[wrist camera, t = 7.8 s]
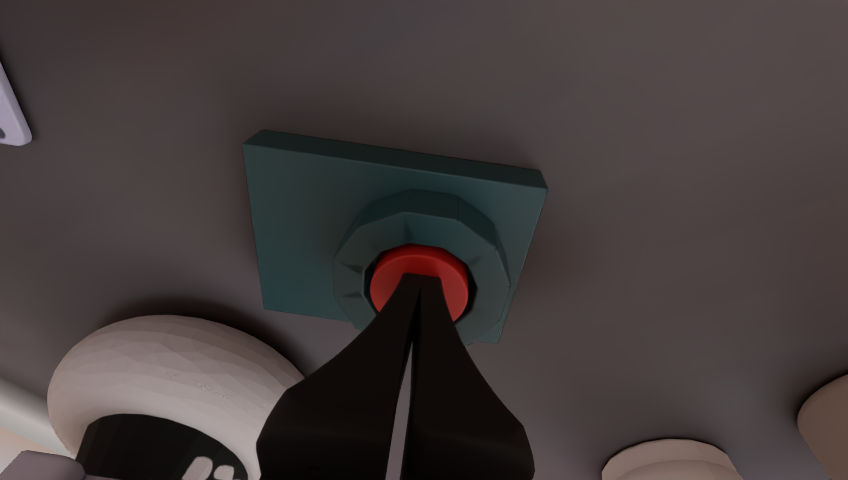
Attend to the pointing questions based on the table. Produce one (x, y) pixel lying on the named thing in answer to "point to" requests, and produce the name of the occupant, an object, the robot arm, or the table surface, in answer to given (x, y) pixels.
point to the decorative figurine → (167, 399)
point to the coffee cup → (828, 427)
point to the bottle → (670, 462)
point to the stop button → (423, 263)
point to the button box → (384, 224)
